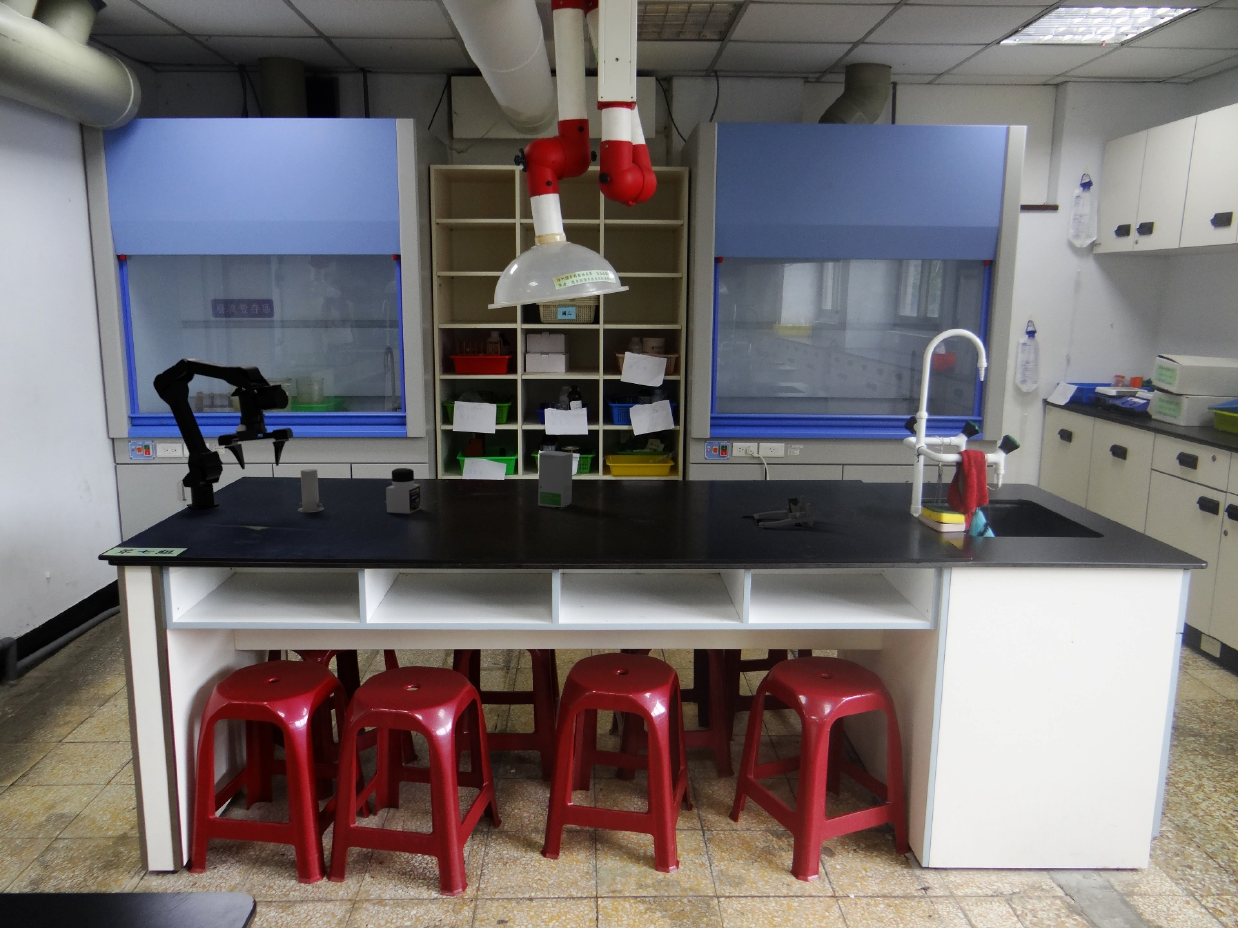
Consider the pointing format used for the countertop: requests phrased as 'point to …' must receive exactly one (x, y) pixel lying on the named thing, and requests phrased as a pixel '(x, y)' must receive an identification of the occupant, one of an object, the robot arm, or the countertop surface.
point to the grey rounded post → (310, 490)
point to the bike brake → (793, 510)
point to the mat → (256, 527)
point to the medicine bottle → (403, 492)
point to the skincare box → (555, 478)
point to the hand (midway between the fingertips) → (260, 467)
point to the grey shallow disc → (310, 511)
